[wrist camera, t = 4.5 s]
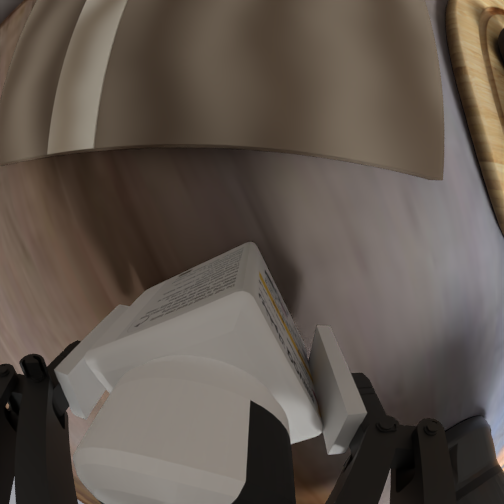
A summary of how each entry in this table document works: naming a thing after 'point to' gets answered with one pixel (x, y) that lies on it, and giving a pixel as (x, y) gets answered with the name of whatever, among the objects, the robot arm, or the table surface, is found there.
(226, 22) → the board
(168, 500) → the container
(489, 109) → the wooden plate with food
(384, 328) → the table surface
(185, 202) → the table surface
